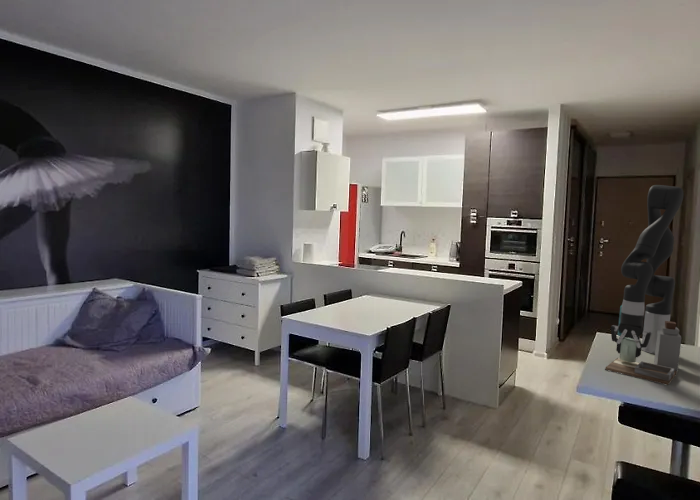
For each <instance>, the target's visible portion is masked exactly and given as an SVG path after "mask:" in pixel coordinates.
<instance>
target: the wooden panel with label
mask: <svg viewBox="0 0 700 500" xmlns="http://www.w3.org/2000/svg"><path fill="white" fill-rule="evenodd" d="M605 370H607V371H610V372H615V373H617V372H618V373H619V374H621V373H622V374H621V375H625V374H626V376H629V375H631V376H630V377H633V376H634V378H637V379H643V380H646V381H651V382H654V383H659V384H661V385H662V384H663V385H666V386H669V385H670V383H671V382H672V380H673V379H674V378H675V377H676V375H677V374H678V372H677V371H675V369H674V368H669V367H665V366H660V365H656V364H654V363H651V362H646V361H640V362H637V361H636V362H626V361H623V360H620V359H619V357H617V358H615V359H614V360H613V361H611V362H610V363H609V364H608V365H606V366H605ZM618 373H617V374H618Z"/></svg>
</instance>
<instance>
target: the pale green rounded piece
mask: <svg viewBox="0 0 700 500" xmlns="http://www.w3.org/2000/svg"><path fill="white" fill-rule="evenodd" d="M636 348H637V345H636V342H635V341H634V339H631V338H624V339H622V340H621V348H620V353H619V357H618V358H619V359H620V360H623V361H626V362H637V357H635V356H636Z"/></svg>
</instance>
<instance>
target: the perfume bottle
mask: <svg viewBox="0 0 700 500" xmlns="http://www.w3.org/2000/svg"><path fill="white" fill-rule="evenodd" d="M681 345H682V335H680V329H679V328H678V327H677V323H676V322H675V321H671V320H670V321H665V326H661V331H659V330H658V332H657V341H656V350H655V354H654V360H653V364H656V365H660V366H665V367H669V368H674V369H675V371H677V373H678V371H679V363H680V355H681V353H680V352H681V347H682V346H681Z"/></svg>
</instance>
